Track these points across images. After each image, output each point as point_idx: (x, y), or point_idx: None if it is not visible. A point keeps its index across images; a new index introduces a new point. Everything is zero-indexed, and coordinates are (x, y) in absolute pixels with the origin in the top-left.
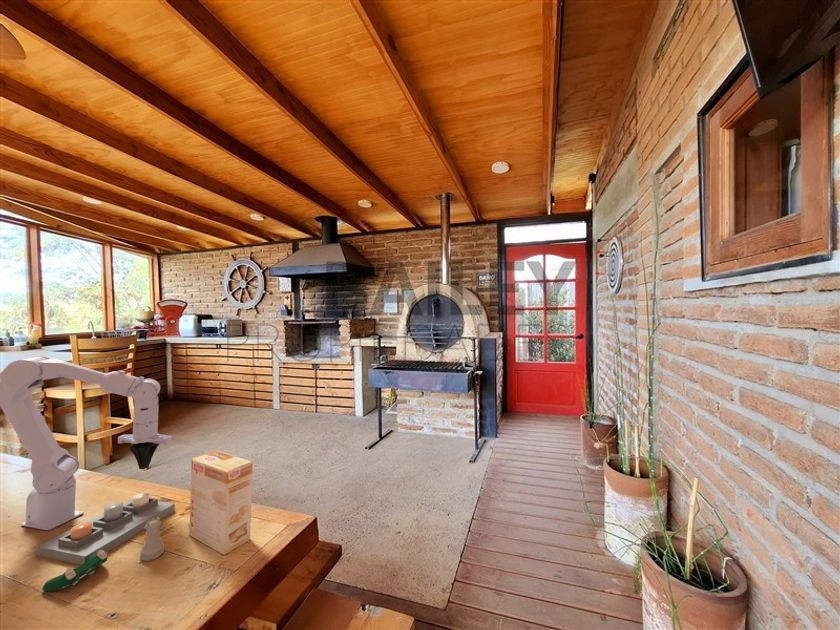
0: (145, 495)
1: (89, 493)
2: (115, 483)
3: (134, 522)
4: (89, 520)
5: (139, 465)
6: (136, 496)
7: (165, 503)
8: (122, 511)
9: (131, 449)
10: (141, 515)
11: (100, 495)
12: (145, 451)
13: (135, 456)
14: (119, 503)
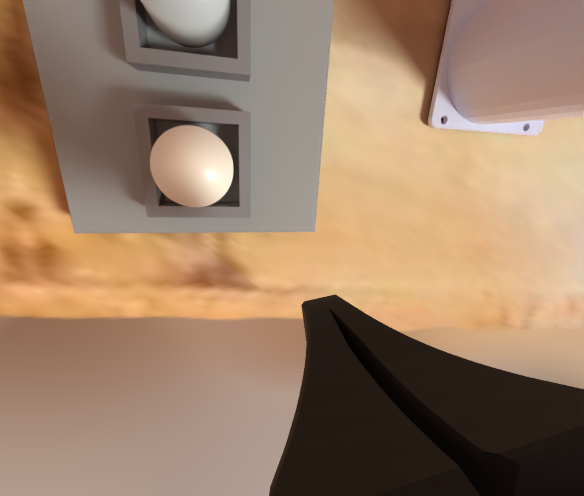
0: (175, 182)
1: (509, 241)
2: (479, 307)
3: (79, 31)
4: (327, 16)
5: (339, 305)
6: (216, 161)
7: (122, 223)
8: (148, 12)
9: (561, 401)
10: (118, 102)
11: (468, 241)
12: (285, 453)
13: (419, 346)
14: (176, 4)
